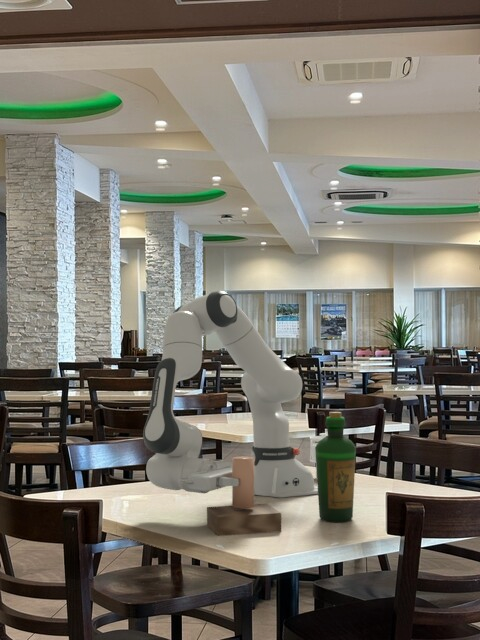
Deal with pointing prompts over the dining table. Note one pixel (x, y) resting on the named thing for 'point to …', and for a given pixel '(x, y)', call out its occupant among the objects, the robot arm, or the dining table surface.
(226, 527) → the brown rectangular block
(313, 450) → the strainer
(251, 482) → the pink upright cylinder
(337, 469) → the bottle
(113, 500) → the dining table surface
